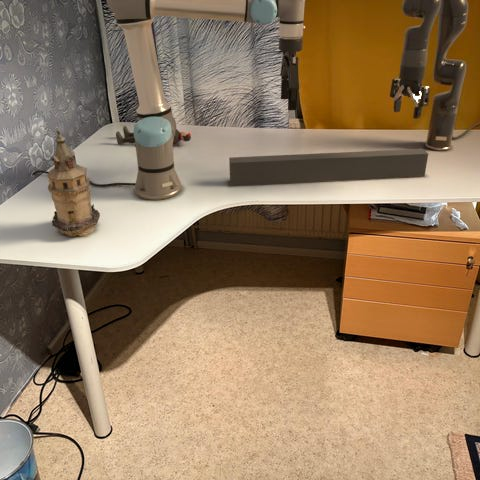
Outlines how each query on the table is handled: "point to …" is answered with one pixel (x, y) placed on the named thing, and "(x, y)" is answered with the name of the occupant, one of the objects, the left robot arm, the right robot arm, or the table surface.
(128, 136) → the toy
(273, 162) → the post
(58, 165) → the miniature building
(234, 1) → the left robot arm
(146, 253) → the table surface
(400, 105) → the right robot arm
